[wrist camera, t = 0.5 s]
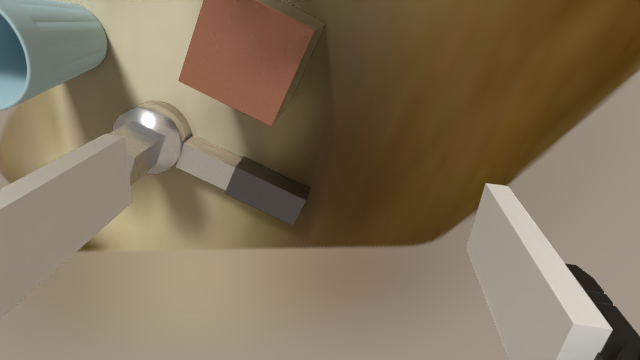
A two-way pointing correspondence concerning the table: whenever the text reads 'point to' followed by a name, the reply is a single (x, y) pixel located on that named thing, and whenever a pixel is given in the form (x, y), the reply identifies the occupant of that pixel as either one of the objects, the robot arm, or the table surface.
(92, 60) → the cup
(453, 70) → the table surface
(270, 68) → the red-topped grey block
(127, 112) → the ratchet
